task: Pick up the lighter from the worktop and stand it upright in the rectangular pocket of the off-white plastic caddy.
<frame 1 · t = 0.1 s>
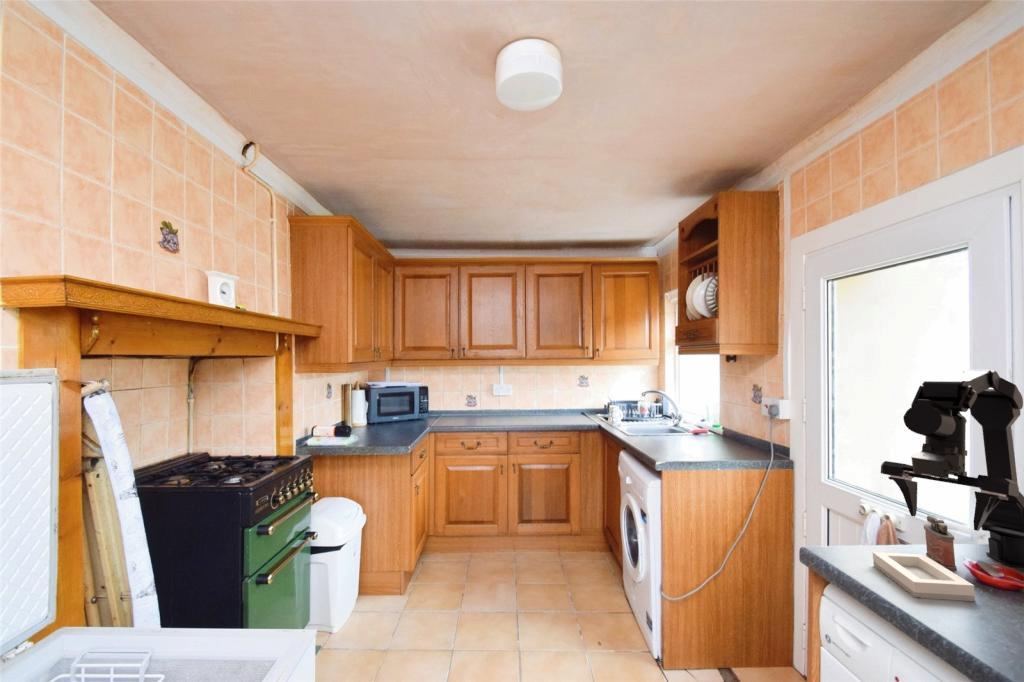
hand: (943, 523, 86), 15 cm above the counter, tool pointing down, fingers open, 9 cm apart
caddy: (920, 581, 94), on the counter
lighter: (941, 564, 101), on the counter
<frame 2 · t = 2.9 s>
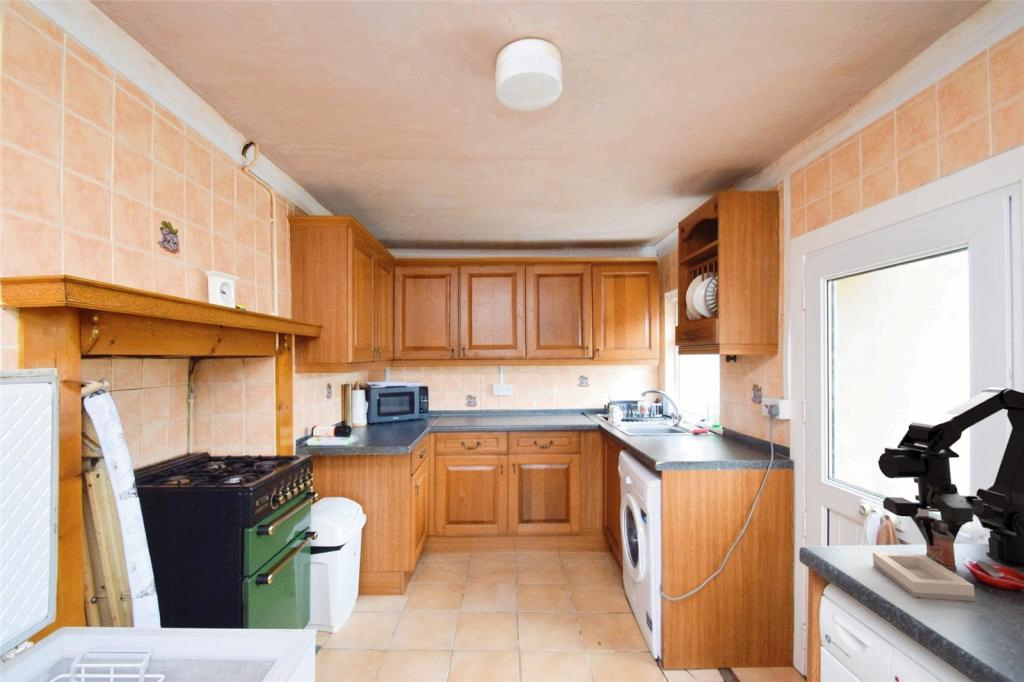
hand: (939, 545, 102), 4 cm above the counter, tool pointing down, fingers closed on lighter, 3 cm apart
lighter: (941, 564, 101), on the counter, touching gripper
when the fingers open (6 cm above the counter, at t = 7.6 s): lighter stays where it is, resting on caddy.
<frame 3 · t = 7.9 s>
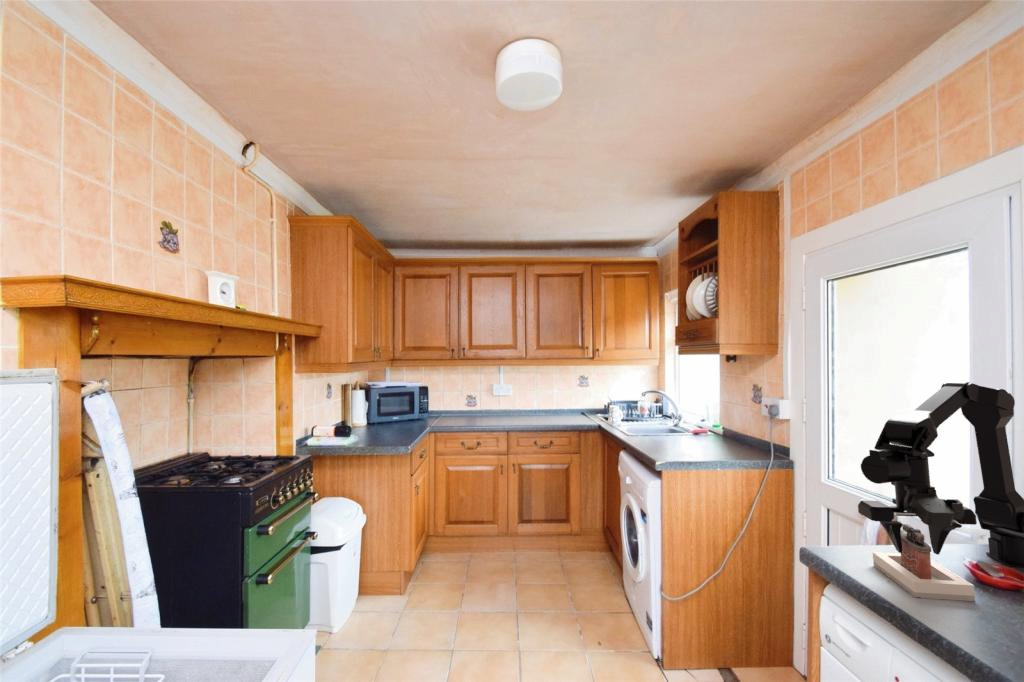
hand: (917, 552, 94), 6 cm above the counter, tool pointing down, fingers open, 6 cm apart
lighter: (915, 577, 94), point 1 cm above the counter, touching caddy
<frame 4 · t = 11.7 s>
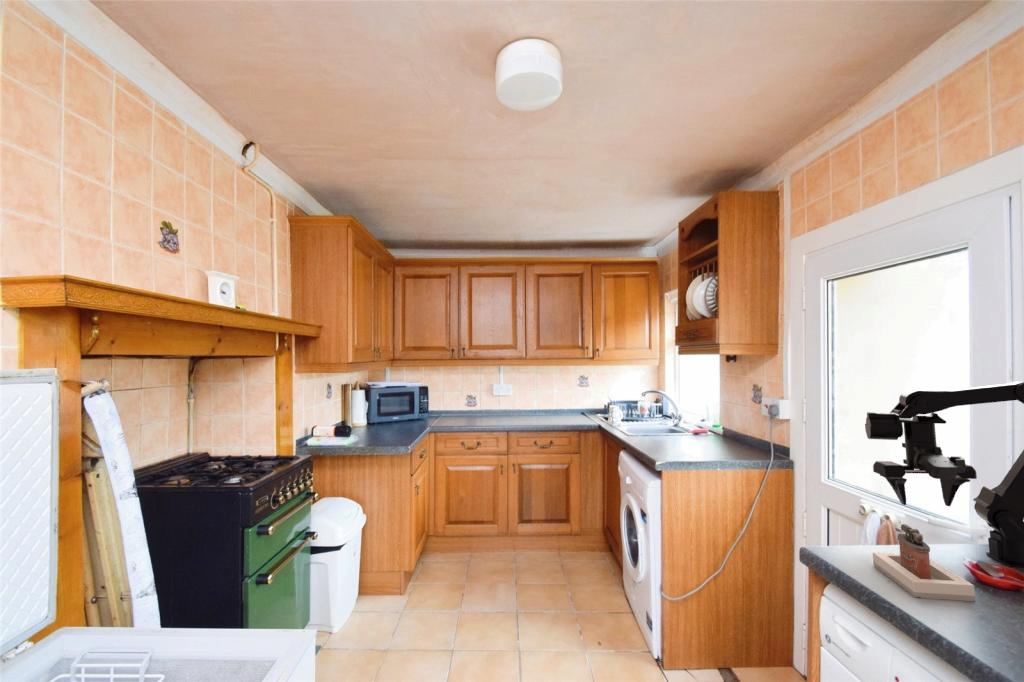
hand: (925, 505, 109), 11 cm above the counter, tool pointing down, fingers open, 9 cm apart
nothing on the counter moved.
at the end: lighter 0.6 cm off-centre on the caddy, point 0.8 cm above the caddy's base; lighter tilted 0°; the gripper is holding nothing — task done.
